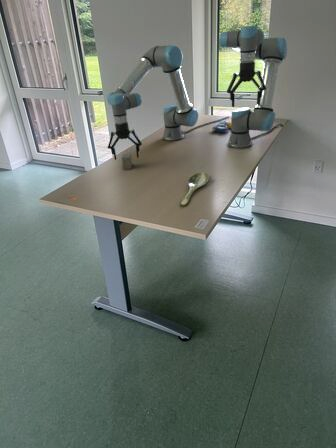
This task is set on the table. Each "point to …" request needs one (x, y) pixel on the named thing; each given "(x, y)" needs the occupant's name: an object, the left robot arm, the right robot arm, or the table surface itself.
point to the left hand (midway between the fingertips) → (126, 158)
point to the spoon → (195, 184)
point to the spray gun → (222, 126)
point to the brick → (127, 161)
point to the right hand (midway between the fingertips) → (245, 105)
